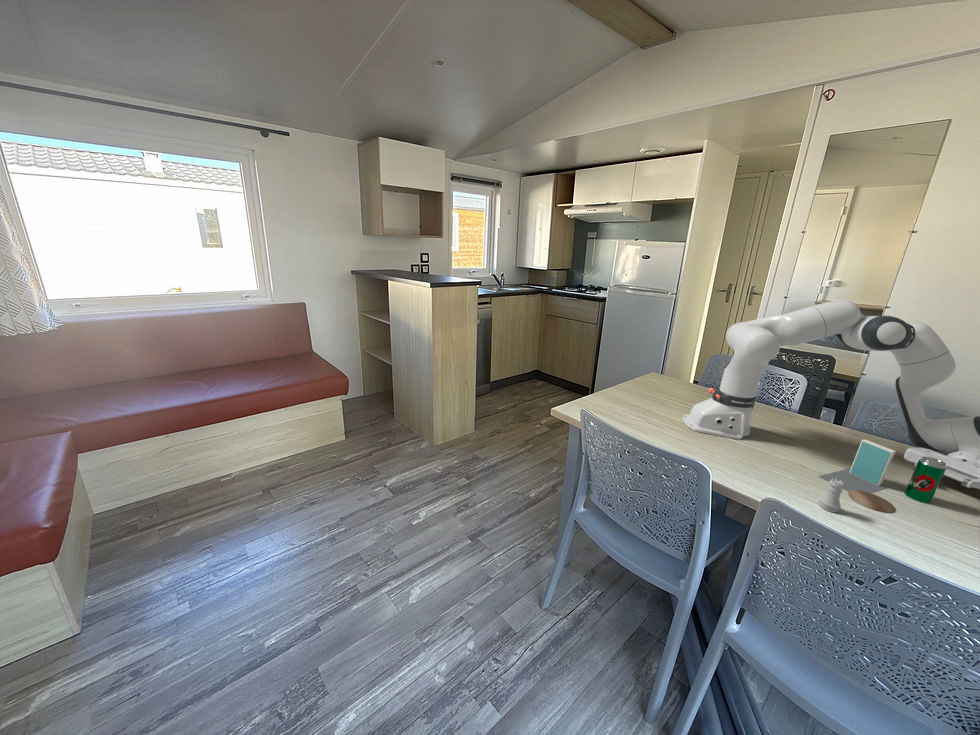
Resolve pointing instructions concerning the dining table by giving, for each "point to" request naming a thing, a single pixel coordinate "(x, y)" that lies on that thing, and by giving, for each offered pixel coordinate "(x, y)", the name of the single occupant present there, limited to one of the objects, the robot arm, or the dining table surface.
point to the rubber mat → (853, 481)
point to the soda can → (925, 479)
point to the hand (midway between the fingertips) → (941, 474)
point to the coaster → (871, 501)
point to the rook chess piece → (832, 496)
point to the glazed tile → (872, 462)
